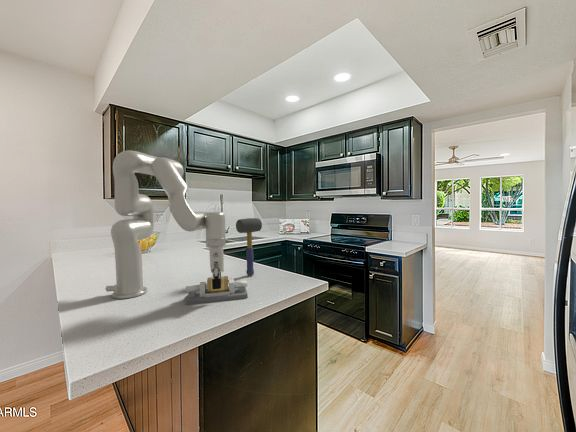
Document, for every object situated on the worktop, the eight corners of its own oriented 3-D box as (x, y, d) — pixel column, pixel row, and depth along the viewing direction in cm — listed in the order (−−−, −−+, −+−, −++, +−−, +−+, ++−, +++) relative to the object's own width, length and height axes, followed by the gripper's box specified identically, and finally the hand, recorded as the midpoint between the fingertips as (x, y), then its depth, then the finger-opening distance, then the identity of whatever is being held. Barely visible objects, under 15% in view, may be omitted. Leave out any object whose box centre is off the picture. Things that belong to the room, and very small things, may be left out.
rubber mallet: (243, 279, 126) (242, 219, 125) (236, 276, 132) (234, 218, 131) (264, 274, 134) (262, 217, 133) (256, 272, 140) (254, 217, 139)
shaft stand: (184, 304, 95) (184, 289, 95) (188, 295, 105) (187, 281, 105) (248, 297, 101) (248, 283, 101) (246, 289, 111) (245, 276, 111)
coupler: (228, 290, 106) (227, 276, 106) (228, 293, 102) (228, 278, 102) (208, 292, 104) (207, 277, 104) (207, 295, 100) (207, 280, 100)
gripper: (225, 245, 95) (226, 291, 95) (225, 239, 111) (226, 278, 112) (204, 246, 93) (205, 293, 94) (207, 240, 109) (208, 279, 110)
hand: (216, 285), depth 103 cm, fingers open, 9 cm apart
